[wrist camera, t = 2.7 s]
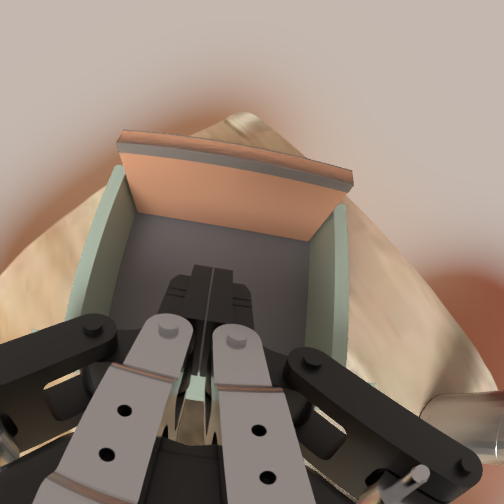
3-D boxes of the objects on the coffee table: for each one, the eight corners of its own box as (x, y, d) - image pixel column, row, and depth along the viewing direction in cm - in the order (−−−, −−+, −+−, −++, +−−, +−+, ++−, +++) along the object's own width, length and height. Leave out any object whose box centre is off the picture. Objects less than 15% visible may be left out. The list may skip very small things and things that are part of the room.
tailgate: (308, 242, 29) (353, 185, 19) (137, 213, 27) (115, 143, 18) (308, 230, 29) (352, 170, 20) (141, 201, 27) (123, 129, 18)
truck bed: (292, 391, 29) (373, 407, 14) (108, 363, 26) (28, 353, 12) (302, 256, 35) (367, 179, 20) (138, 228, 33) (105, 132, 18)
